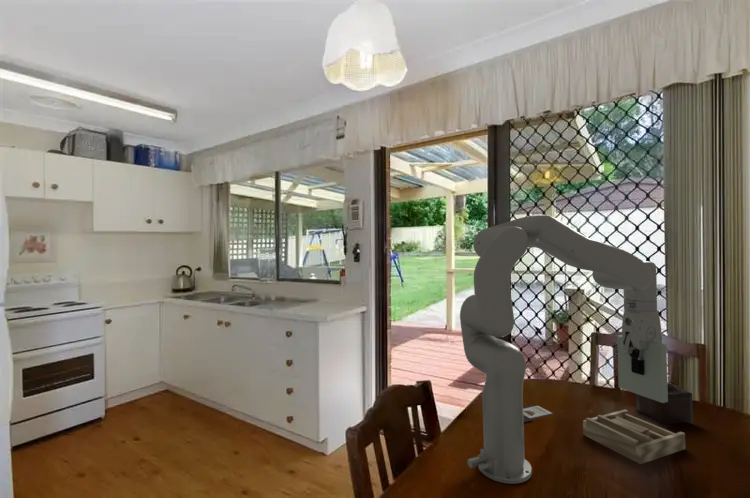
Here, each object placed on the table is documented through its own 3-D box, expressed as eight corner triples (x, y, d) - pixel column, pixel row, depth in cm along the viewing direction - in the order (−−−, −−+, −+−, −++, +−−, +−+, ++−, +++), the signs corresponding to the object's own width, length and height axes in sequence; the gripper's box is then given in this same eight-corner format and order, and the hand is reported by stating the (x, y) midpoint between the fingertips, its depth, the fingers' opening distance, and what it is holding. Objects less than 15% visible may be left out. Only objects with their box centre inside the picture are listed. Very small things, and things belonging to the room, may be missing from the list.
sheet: (662, 403, 98) (661, 345, 98) (618, 387, 109) (617, 335, 109) (667, 401, 99) (666, 344, 99) (623, 386, 110) (622, 335, 110)
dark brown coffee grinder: (697, 424, 113) (695, 364, 113) (663, 428, 111) (661, 367, 111) (652, 403, 128) (650, 350, 128) (622, 406, 127) (621, 352, 126)
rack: (640, 468, 92) (639, 443, 92) (583, 438, 107) (582, 416, 107) (685, 452, 98) (684, 429, 98) (625, 426, 113) (624, 406, 113)
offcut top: (641, 439, 98) (641, 432, 98) (610, 427, 106) (610, 419, 106) (649, 436, 100) (648, 429, 100) (618, 424, 107) (618, 417, 107)
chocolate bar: (491, 413, 123) (535, 404, 129) (491, 416, 123) (535, 406, 129) (509, 425, 115) (555, 414, 121) (509, 428, 115) (555, 417, 121)
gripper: (633, 310, 98) (635, 381, 98) (673, 305, 103) (675, 373, 103) (606, 306, 105) (608, 372, 105) (645, 302, 110) (646, 365, 110)
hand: (641, 372), depth 104 cm, fingers closed on sheet, 2 cm apart
